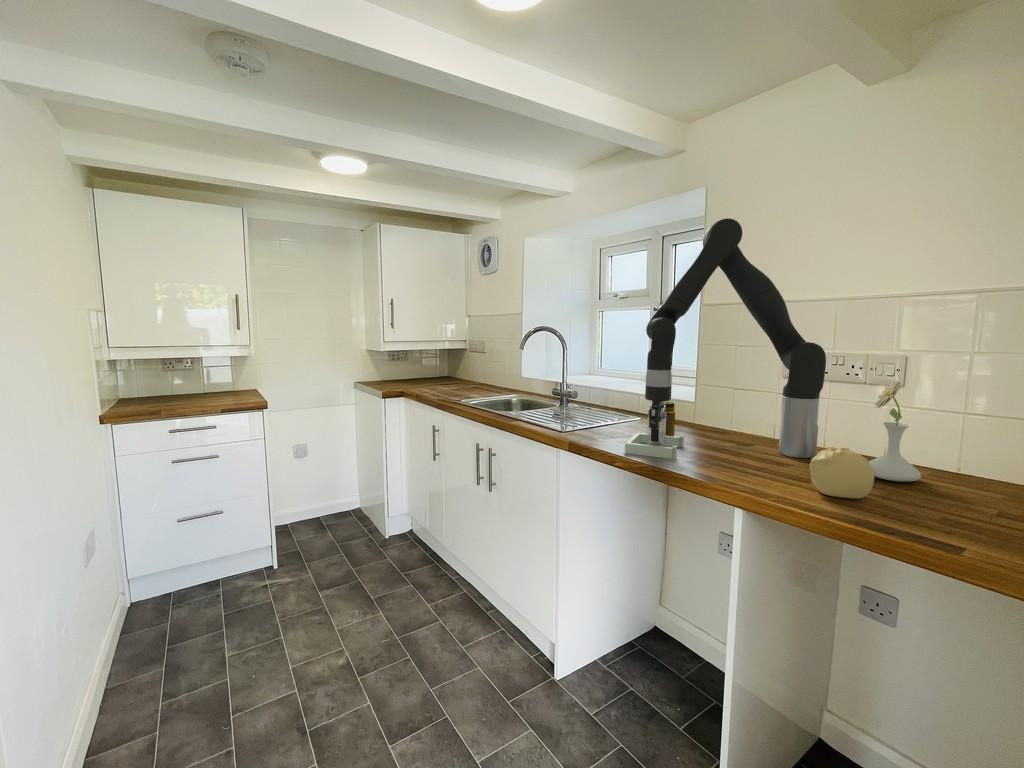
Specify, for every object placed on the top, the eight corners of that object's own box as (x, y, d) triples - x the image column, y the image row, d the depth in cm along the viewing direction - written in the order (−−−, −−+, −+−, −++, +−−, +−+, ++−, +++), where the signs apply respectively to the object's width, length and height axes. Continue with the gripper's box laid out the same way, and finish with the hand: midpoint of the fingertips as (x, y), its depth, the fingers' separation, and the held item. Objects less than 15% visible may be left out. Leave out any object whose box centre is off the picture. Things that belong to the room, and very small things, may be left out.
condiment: (679, 437, 163) (680, 402, 162) (667, 441, 157) (668, 405, 156) (659, 433, 168) (661, 400, 167) (647, 437, 162) (648, 402, 161)
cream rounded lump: (816, 482, 115) (820, 439, 114) (877, 495, 106) (882, 448, 105) (800, 493, 108) (803, 447, 106) (864, 508, 99) (869, 457, 97)
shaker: (666, 444, 146) (667, 411, 145) (663, 448, 142) (664, 414, 140) (648, 442, 149) (649, 410, 148) (645, 446, 144) (646, 413, 143)
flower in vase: (868, 468, 126) (876, 375, 123) (924, 478, 118) (934, 379, 115) (855, 479, 118) (864, 379, 115) (915, 490, 109) (926, 383, 106)
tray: (683, 446, 149) (684, 435, 149) (675, 459, 135) (676, 446, 135) (636, 441, 156) (637, 431, 155) (624, 453, 142) (625, 441, 141)
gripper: (667, 387, 135) (665, 446, 137) (675, 382, 148) (672, 436, 150) (640, 386, 138) (638, 443, 140) (650, 381, 151) (648, 433, 153)
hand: (656, 439), depth 145 cm, fingers closed on shaker, 5 cm apart
